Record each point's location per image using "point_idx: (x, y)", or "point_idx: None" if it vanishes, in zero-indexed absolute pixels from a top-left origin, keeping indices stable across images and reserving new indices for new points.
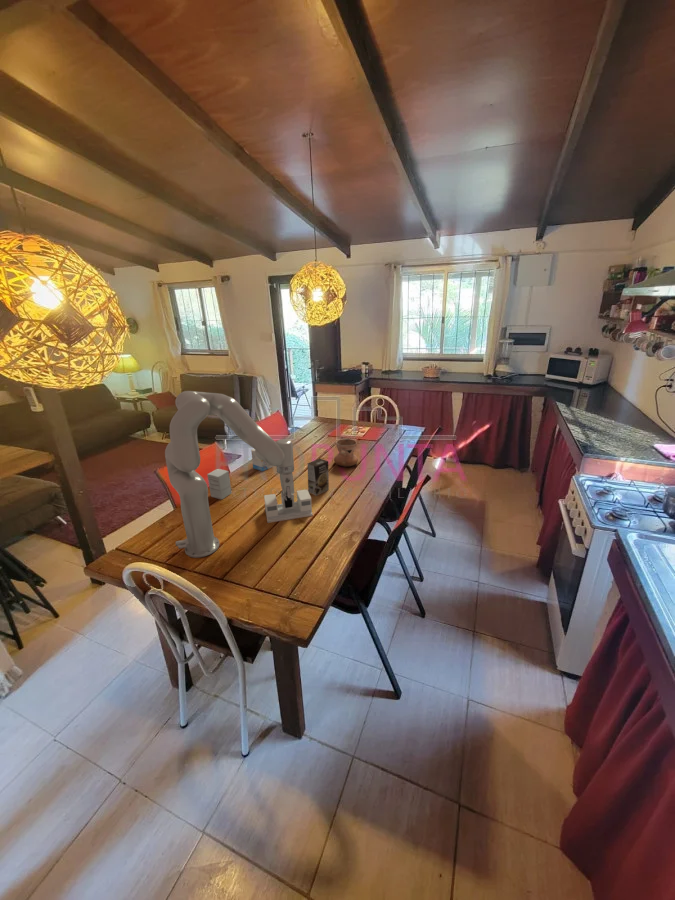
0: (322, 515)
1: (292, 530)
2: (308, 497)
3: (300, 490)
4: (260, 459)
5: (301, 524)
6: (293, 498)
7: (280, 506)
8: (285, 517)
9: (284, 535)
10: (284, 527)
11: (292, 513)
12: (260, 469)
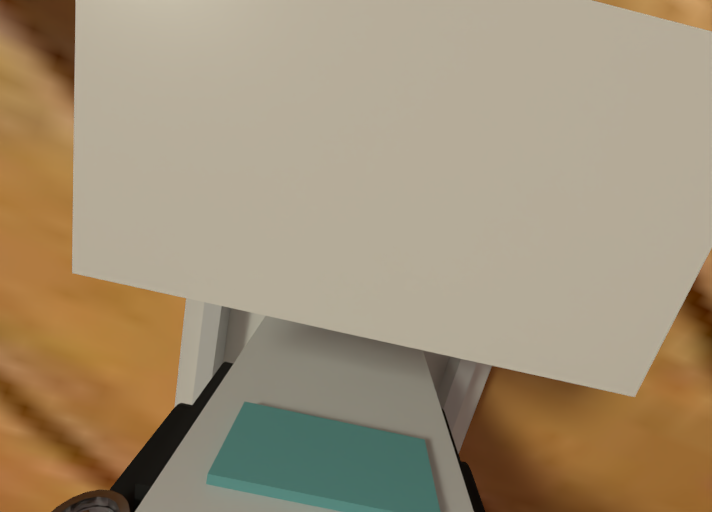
0: (643, 9)
1: (658, 430)
2: (675, 119)
3: (92, 161)
4: None
5: None
6: (467, 507)
7: None
8: (454, 434)
9: (674, 505)
10: (565, 467)
11: (469, 378)
12: None
